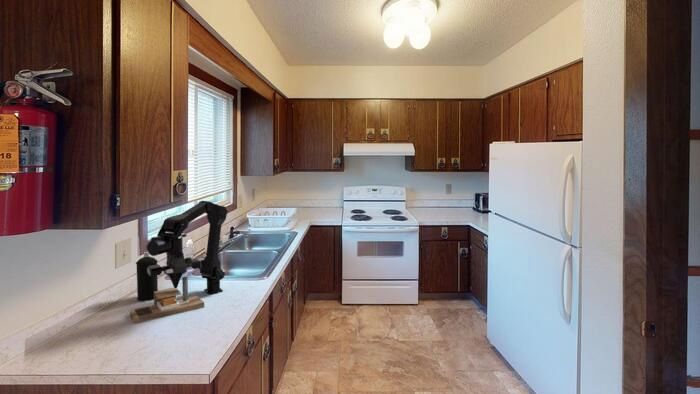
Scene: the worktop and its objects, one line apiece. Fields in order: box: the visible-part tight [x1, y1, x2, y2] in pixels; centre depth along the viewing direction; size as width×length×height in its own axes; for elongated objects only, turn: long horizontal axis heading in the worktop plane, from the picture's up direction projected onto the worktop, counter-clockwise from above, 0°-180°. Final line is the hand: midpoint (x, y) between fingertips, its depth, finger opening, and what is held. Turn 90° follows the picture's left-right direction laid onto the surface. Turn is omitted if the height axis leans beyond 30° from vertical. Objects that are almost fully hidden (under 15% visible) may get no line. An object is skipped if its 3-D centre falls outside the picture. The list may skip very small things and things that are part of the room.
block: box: [161, 296, 175, 307], centre depth 143 cm, size 4×4×4 cm
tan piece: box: [128, 287, 205, 325], centre depth 143 cm, size 10×25×8 cm, turn 131°
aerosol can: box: [135, 251, 159, 302], centre depth 155 cm, size 8×8×20 cm
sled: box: [157, 276, 189, 311], centre depth 144 cm, size 7×11×10 cm, turn 131°
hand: (175, 287), depth 144 cm, fingers closed
